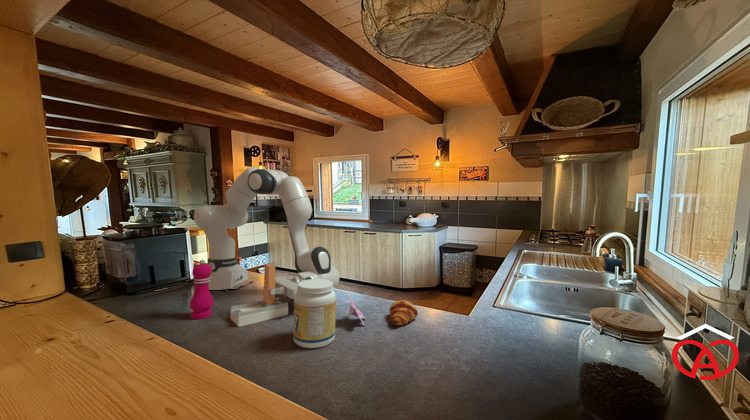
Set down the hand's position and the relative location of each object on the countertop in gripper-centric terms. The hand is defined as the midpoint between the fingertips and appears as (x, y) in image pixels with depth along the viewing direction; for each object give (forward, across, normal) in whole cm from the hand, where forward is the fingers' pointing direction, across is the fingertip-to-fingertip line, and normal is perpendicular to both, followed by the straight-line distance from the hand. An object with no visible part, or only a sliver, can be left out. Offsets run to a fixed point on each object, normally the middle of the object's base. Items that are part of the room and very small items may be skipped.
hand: (267, 290), depth 104 cm
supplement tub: (-3, +28, +9) cm, 30 cm away
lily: (-20, +26, +9) cm, 34 cm away
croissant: (-37, +33, +10) cm, 50 cm away
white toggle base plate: (+2, 0, +9) cm, 9 cm away
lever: (-1, 0, +6) cm, 6 cm away
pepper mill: (+18, -13, +9) cm, 24 cm away
